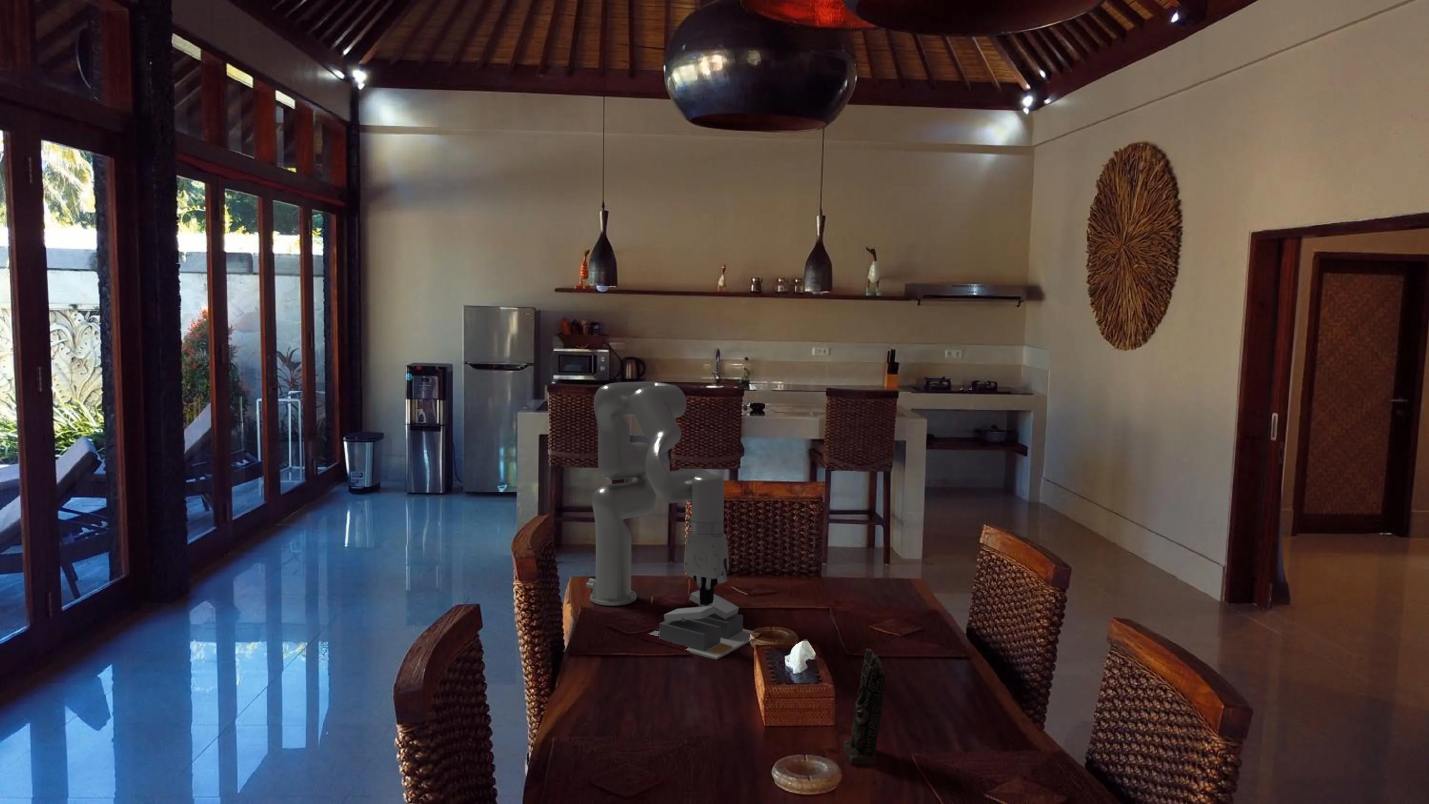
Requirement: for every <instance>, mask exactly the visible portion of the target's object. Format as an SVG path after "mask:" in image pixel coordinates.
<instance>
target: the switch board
mask: <svg viewBox="0 0 1429 804" xmlns="http://www.w3.org/2000/svg"><path fill="white" fill-rule="evenodd" d="M696 607H702V606H700V605H699V604H698V605H697V606H696ZM658 627H659V628H658V629H659V631H656V630H654V631H651V632H649V633H648V634H650V635H654V636H659V639H662V640H665V641H668V642H672V643H675V644H679V645H684V646H686V647H688V648H687V649H685V650H687V651H689V652H690V653H691V654H693V655H696V656H700V657H705V658H707V659H712V660H718V659H721V658H722V657H724V656H726V655H728V654H730V653H731V652H733V651H736V650H738V649H739V648H740V647H742V646H745V645H746V644H748V643H750V642H749V640H750V639H749V638H750V634H751V633H752V632H753V630H750V629H745V628H744V615H742V614H738V613H737V614H735V615H732V616H730V617H728V618H726V619H724V618H722V617H720V616H719V615H717V614H715V613H713V614H711V615H709V616H707V617H705V618H702V619H692V620H689V621H686V622H684V623H683V622H682V621H681V620H678V621H665V620H664V621H661V622H659V626H658ZM658 634H659V635H658ZM689 652H688V653H689Z"/></svg>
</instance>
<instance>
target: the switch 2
mask: <svg viewBox="0 0 1429 804" xmlns="http://www.w3.org/2000/svg"><path fill="white" fill-rule="evenodd" d="M699 597H700V589H698V590H696V591H694V592H691V593H690V596H689V600H690V601H692V602H693V603H695V604H697V605H698V606H699V605H700V598H699ZM700 606H702V607H706V606H705V605H700ZM707 606H714V609H715V614H717V615H719V616H720V617H722V618H724V619H726V618H728V617H730V616H732V615H735V614H738V612H739V608H740V607H739V606H737V605H736V604H734V603H732V602H730V601H728V600H726V599H725V598H723V597H721V596H719V595H717V594H715V593H714V600H713V603H711V604H709V605H707Z"/></svg>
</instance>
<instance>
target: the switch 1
mask: <svg viewBox="0 0 1429 804" xmlns="http://www.w3.org/2000/svg"><path fill="white" fill-rule="evenodd" d="M713 613H715V609H714V606H706V607H697V606H696V607H695V606H694V607H682V608H676V609H674V610H671V611H669V612H667V613H665V614H663V617H664V618H663V619H664V621H678V620H681V621H682V622H683V623H684V622H686V621H689V620H692V619H702V618H705V617H707V616H709V615H711V614H713Z"/></svg>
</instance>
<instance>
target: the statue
mask: <svg viewBox="0 0 1429 804" xmlns="http://www.w3.org/2000/svg"><path fill="white" fill-rule="evenodd" d="M863 658H864V659H863V663H862V669H861V674H860V682H859V687H858V691H857V696H858V697H857V699H856V701H855V708H854V710H853V711H854V717H853V721H852V726H851V735H850V739H847V740H844V741H843V744H842V748H843V752H844V754H845V753H846V754H845V756H847V758H848V757H849V758H848V761H849V763H850V764H852V765H865V764H867V765H875V764H876V763H877V756H876V754H877V742H878V736H879V729H880V725H881V719H882V715H883V714H882V713H883V703H884V689H885V684H886V678H887V677H886V673H885V669H884V665H883V663H882V661H881V659H880V658H879V656H878V655H877V654H875V652H874V651H872V649H870V648H866V649H865V653H864V655H863Z"/></svg>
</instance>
